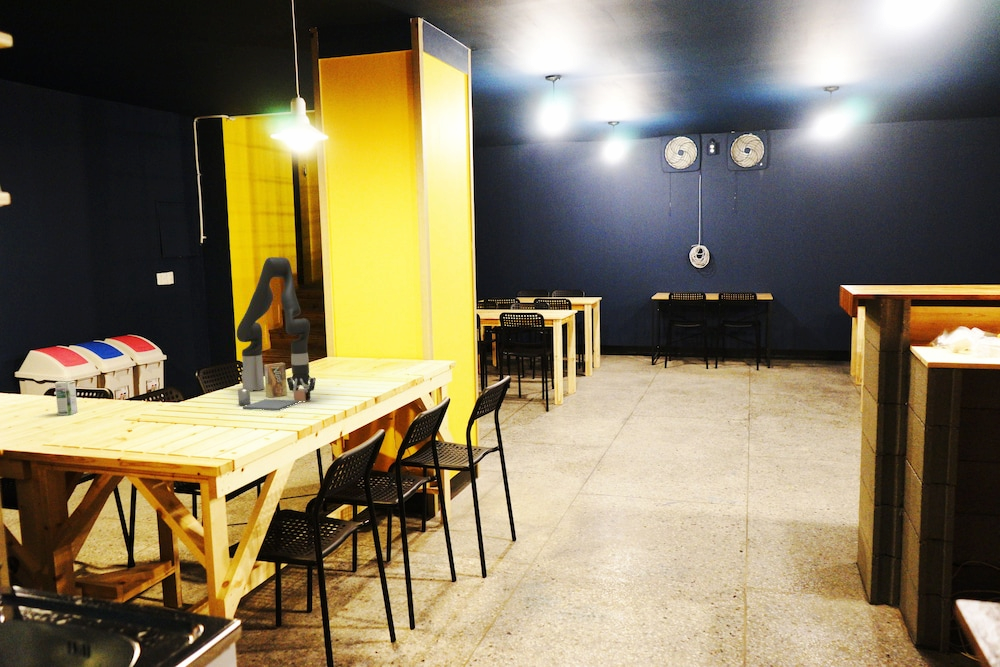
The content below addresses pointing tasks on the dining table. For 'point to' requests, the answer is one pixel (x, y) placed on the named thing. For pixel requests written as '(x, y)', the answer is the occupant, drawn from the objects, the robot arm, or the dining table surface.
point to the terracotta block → (300, 395)
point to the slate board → (270, 404)
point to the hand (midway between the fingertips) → (302, 399)
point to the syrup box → (66, 397)
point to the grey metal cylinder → (244, 396)
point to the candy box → (275, 379)
